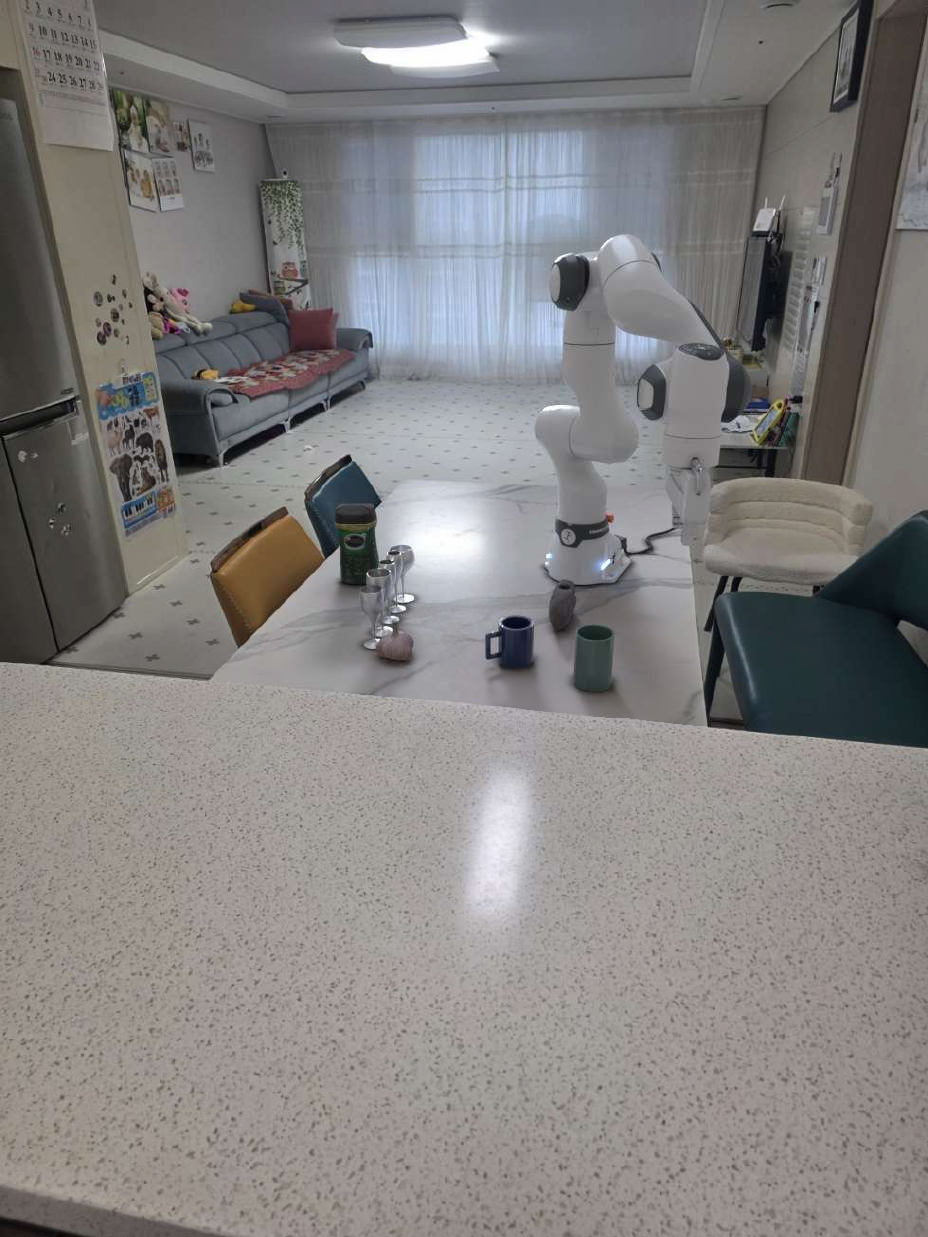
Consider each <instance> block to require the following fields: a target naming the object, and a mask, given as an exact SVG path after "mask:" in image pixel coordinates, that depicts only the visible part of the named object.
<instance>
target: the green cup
mask: <svg viewBox="0 0 928 1237" xmlns="http://www.w3.org/2000/svg"><path fill="white" fill-rule="evenodd" d="M615 637H616V632H615V630H613V629H612V628H610V627H609V626H606V625H604V624H603V625H602V624H596V623H592V624H591V623H590V624H584V625H581V626H579V627H577V628H576V629H575V631H574V652H573V653H574V654H573V655H574V656H573V675H572V676H573V677H572V680H573V684H574V686H575V687H576V688H578V689H579V690H583V691H585V692H593V693H594V692H603V691H606V690H607V689H609V688H610V687H611V686H612V681H613V666H614V652H615Z"/></svg>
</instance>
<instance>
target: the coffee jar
mask: <svg viewBox="0 0 928 1237" xmlns="http://www.w3.org/2000/svg"><path fill="white" fill-rule="evenodd" d="M335 508H336V509H335V512H334V526H335V528H336V530H337V534H338V539H339V540H338V541H339V578H340V581H341V582H342V583H343V584H348V585H364V584H365V585H367V583H366V579H367V573H368V572H369V571H371V570H374V569H378V566H379V561H380V557H379V551H378V546H377V539H376V527H377V524H378V516H377V512H376V507H375V505H374V503H371V502H370V503H339V504H338V505H337V506H336V507H335Z"/></svg>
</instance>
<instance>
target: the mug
mask: <svg viewBox="0 0 928 1237" xmlns="http://www.w3.org/2000/svg"><path fill="white" fill-rule="evenodd" d="M497 625H498V627H497V628H498V630H497V631H492V632H488V633H485V636H484V644H485V645H484V649H485V653H484V654H485V656H484V658H485V659H486V660H487V661H489V660H494V659H497V660H498V663H499V664H500V665H501V666H502V667H504V668H506V669H507V668H508V669H512V670H513V669H514V670H515V669H516V670H518V669H525V668H529V666H531V665H533V663H534V644H535V643H534V642H535V641H534V640H535V632H534V631H535V621H534V620H533V619H532V618H530V617H528V616H526V615H519V614H517V615H516V614H515V615H514V614H513V615H507V616H503V617H502V618H500V619H499V620H498V621H497ZM495 638H497V643H498V644H497V650H498V651H497V652H493V653H492V652H491V650H492V648H491V647H492V646H491V644H492V642H491V641H492V640H491V639H495Z"/></svg>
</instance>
